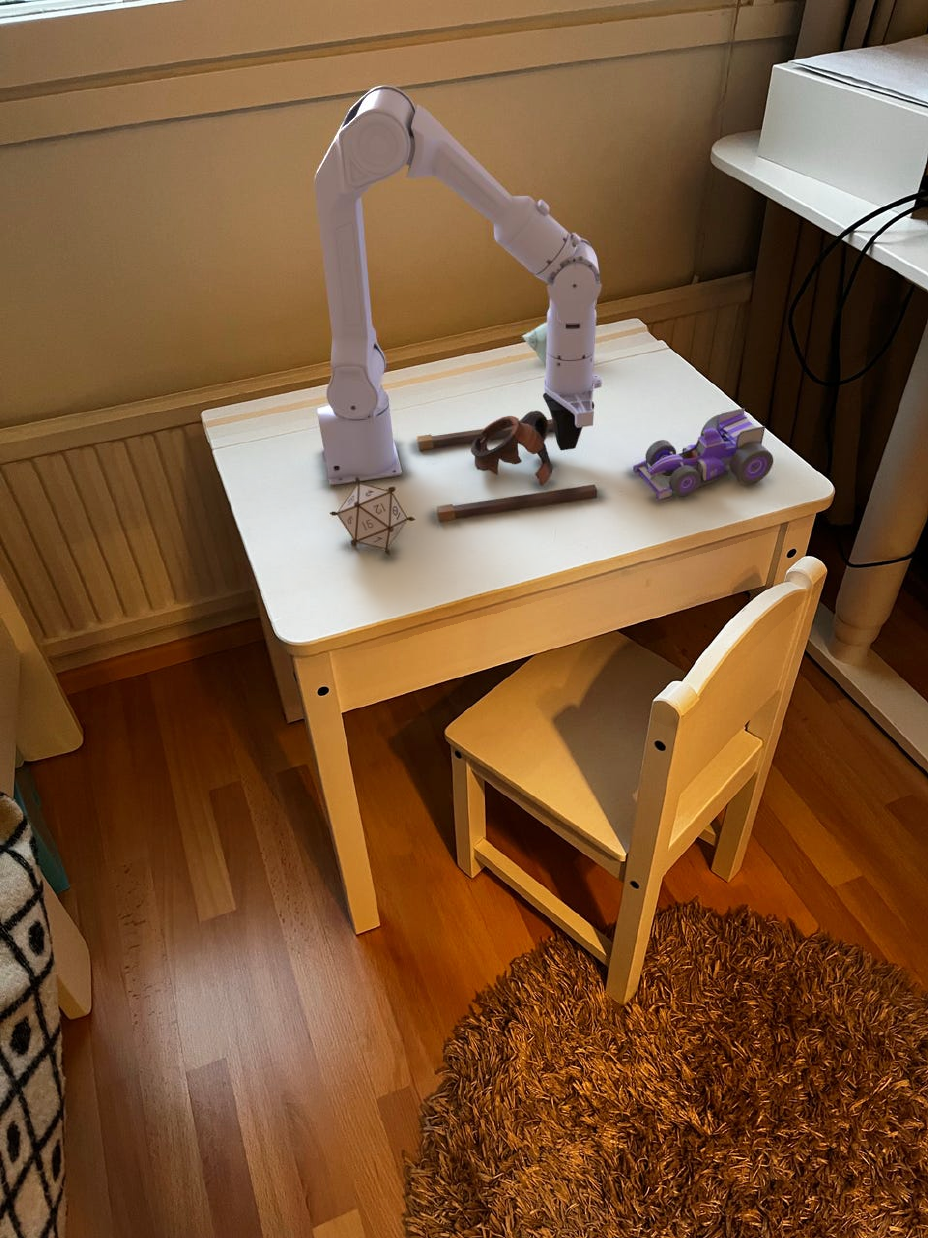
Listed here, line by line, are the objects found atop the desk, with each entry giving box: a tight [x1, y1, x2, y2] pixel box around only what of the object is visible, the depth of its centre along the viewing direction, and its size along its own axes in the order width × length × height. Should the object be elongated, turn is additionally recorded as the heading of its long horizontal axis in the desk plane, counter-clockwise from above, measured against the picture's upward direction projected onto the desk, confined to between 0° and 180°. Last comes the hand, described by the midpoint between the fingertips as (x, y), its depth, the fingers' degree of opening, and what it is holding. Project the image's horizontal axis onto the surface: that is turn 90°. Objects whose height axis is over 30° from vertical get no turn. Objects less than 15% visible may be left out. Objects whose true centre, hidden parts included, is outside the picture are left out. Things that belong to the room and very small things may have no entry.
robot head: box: [521, 321, 547, 364], centre depth 137 cm, size 8×4×7 cm, turn 109°
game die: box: [329, 477, 416, 556], centre depth 106 cm, size 9×8×10 cm
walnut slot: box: [416, 418, 598, 523], centre depth 118 cm, size 20×18×1 cm
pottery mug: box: [470, 410, 554, 487], centre depth 118 cm, size 12×10×8 cm
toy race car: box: [632, 407, 774, 501], centre depth 114 cm, size 10×15×6 cm, turn 109°
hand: (566, 446), depth 118 cm, fingers closed
